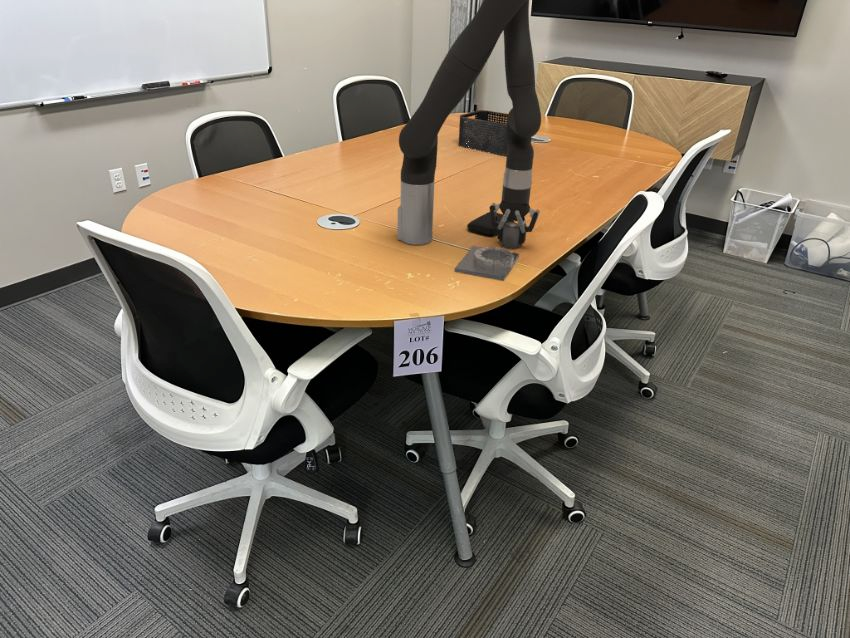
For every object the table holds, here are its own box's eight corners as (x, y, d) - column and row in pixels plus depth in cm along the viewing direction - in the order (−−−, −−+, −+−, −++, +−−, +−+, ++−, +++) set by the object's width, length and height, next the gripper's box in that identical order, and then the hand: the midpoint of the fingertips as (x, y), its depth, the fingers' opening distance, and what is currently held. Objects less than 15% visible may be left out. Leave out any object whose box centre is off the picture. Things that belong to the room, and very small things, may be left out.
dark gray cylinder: (499, 247, 172) (501, 226, 169) (503, 240, 176) (505, 220, 173) (517, 250, 170) (519, 229, 167) (521, 243, 174) (523, 223, 171)
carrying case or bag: (495, 240, 177) (519, 226, 187) (496, 230, 175) (520, 216, 186) (464, 231, 182) (488, 218, 193) (464, 222, 181) (489, 209, 191)
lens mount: (454, 271, 157) (455, 260, 155) (472, 249, 170) (473, 239, 168) (503, 280, 153) (504, 269, 152) (518, 257, 166) (519, 246, 165)
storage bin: (454, 146, 270) (456, 114, 264) (479, 138, 284) (481, 108, 277) (510, 158, 255) (513, 125, 249) (533, 149, 269) (537, 118, 262)
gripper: (487, 184, 163) (482, 243, 172) (540, 191, 159) (533, 251, 167) (494, 176, 169) (490, 234, 178) (546, 183, 165) (538, 242, 173)
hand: (510, 242), depth 173 cm, fingers closed on dark gray cylinder, 5 cm apart
